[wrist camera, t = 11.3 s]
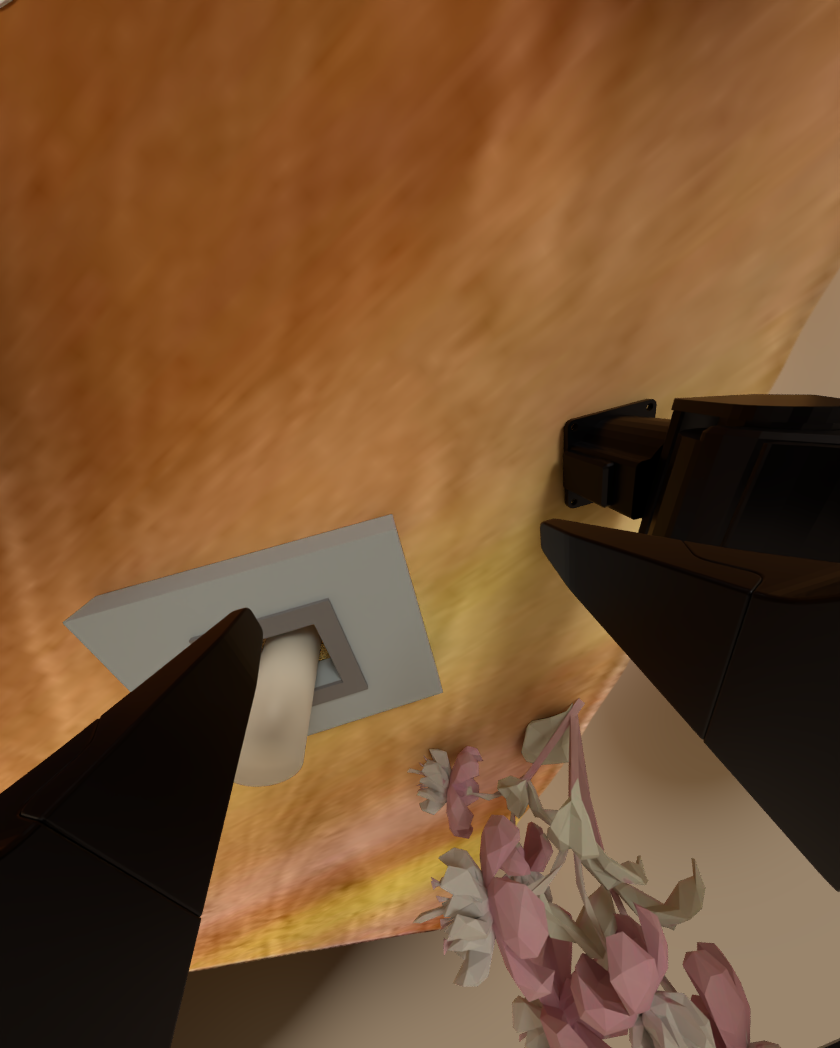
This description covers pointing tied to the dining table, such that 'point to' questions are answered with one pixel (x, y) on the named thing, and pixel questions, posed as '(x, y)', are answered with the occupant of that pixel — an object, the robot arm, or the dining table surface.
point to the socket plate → (285, 618)
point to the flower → (548, 930)
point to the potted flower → (4, 2)
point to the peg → (280, 709)
